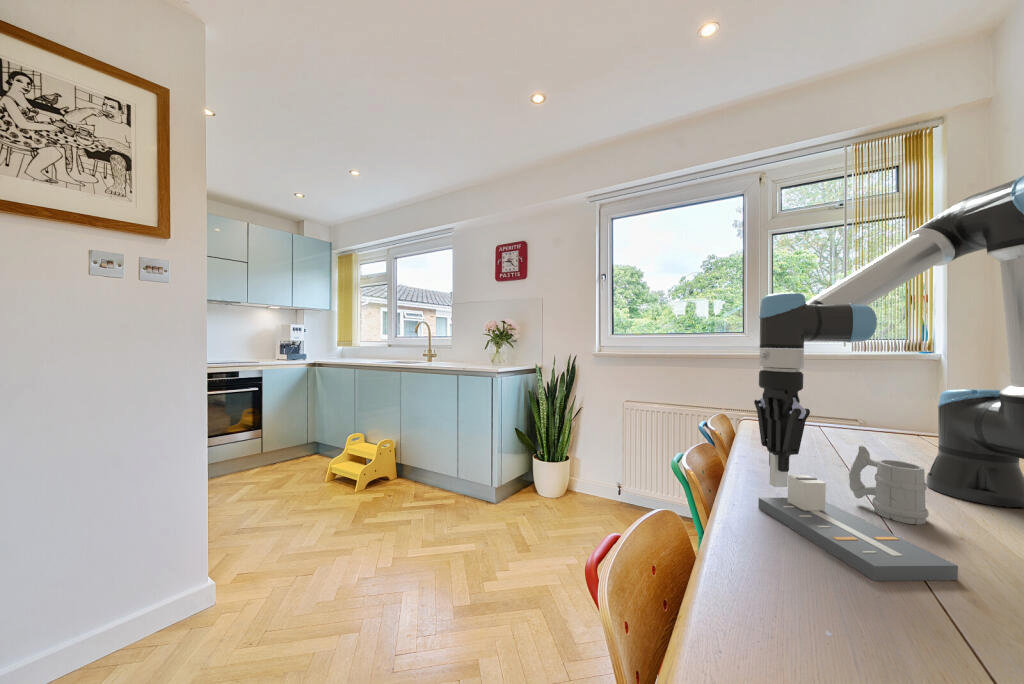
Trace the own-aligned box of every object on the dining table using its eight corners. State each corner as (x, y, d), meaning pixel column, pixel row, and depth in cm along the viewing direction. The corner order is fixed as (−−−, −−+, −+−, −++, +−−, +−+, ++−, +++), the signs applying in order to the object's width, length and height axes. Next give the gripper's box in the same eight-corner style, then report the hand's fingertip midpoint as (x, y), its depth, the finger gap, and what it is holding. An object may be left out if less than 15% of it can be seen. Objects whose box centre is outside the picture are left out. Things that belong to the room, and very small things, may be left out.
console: (817, 507, 79) (817, 497, 79) (957, 580, 55) (958, 564, 55) (758, 507, 79) (758, 496, 79) (874, 580, 55) (874, 565, 55)
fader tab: (807, 501, 76) (808, 474, 76) (825, 510, 73) (825, 481, 72) (787, 501, 76) (788, 474, 76) (803, 510, 72) (804, 481, 72)
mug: (918, 529, 71) (920, 461, 71) (839, 504, 81) (840, 445, 81) (935, 520, 74) (937, 456, 74) (857, 498, 85) (858, 441, 85)
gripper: (742, 367, 88) (740, 474, 88) (786, 372, 75) (783, 498, 75) (776, 368, 88) (774, 474, 88) (824, 372, 75) (822, 498, 75)
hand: (778, 485), depth 82 cm, fingers closed
